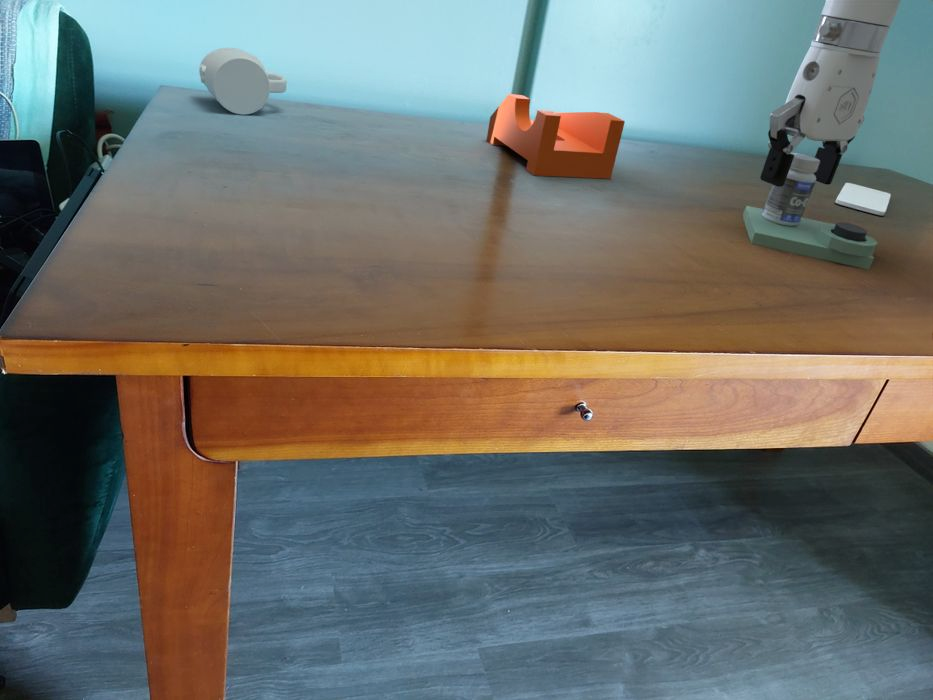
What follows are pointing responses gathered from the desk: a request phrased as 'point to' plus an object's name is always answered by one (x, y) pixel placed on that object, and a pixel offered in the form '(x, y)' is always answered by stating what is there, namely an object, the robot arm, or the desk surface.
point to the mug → (239, 80)
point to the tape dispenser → (557, 139)
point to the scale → (808, 239)
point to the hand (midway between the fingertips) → (795, 182)
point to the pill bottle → (792, 192)
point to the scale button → (850, 231)
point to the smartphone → (863, 199)
